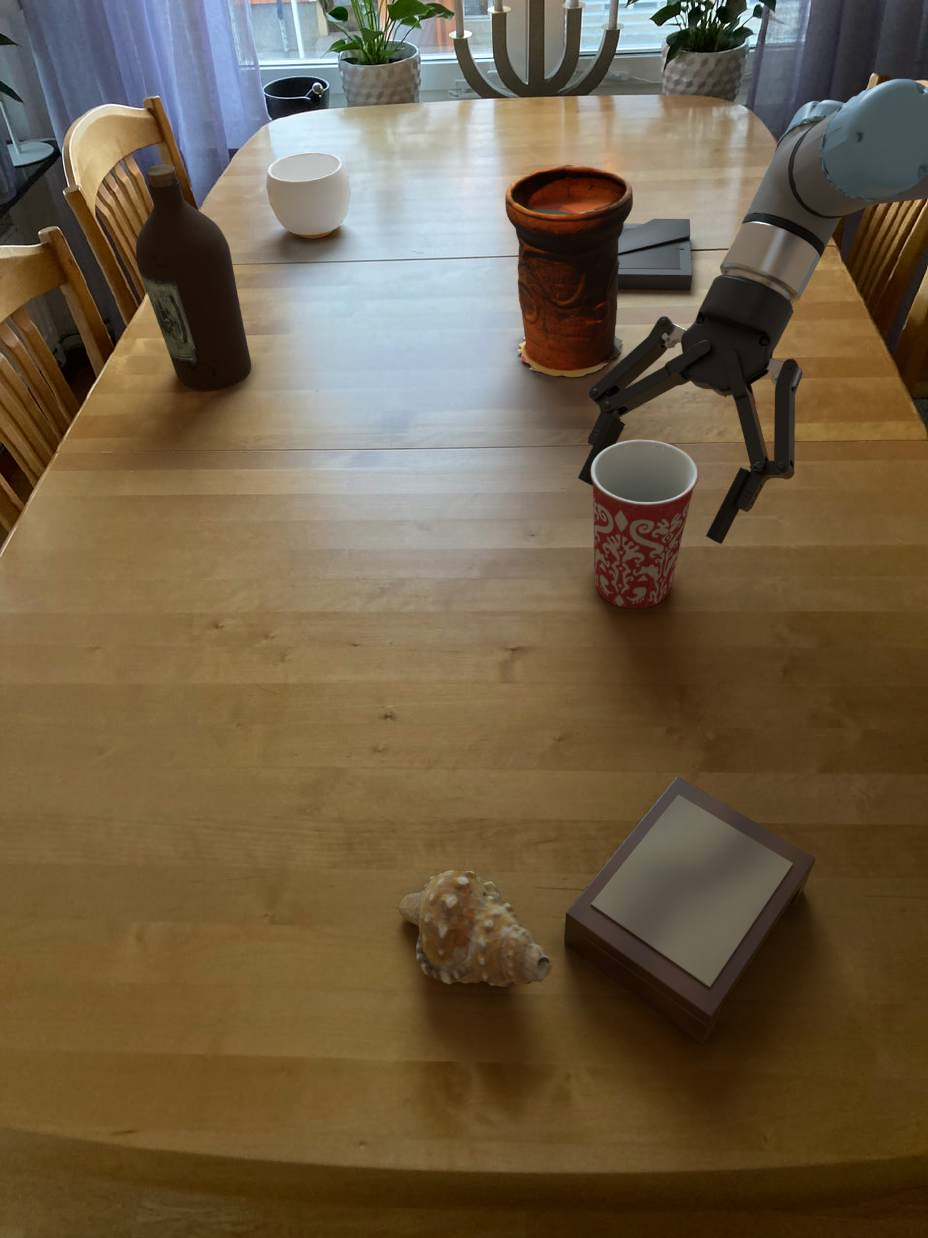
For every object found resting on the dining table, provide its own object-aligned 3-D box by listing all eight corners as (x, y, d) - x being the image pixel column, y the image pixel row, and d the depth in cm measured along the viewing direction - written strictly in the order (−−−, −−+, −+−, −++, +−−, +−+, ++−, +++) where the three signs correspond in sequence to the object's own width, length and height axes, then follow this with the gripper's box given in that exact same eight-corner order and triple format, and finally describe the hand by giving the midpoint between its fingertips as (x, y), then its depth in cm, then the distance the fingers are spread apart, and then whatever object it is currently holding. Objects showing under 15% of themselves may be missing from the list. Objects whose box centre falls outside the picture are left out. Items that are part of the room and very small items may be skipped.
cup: (274, 219, 154) (261, 156, 147) (350, 209, 155) (342, 146, 148) (277, 253, 145) (264, 188, 138) (359, 242, 146) (350, 177, 139)
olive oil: (223, 340, 128) (172, 143, 110) (273, 367, 123) (229, 164, 105) (156, 375, 123) (91, 173, 105) (205, 404, 118) (146, 197, 100)
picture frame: (687, 237, 142) (545, 236, 144) (689, 218, 140) (546, 217, 142) (690, 289, 131) (537, 287, 134) (692, 269, 129) (537, 267, 132)
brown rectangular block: (803, 890, 69) (817, 856, 66) (702, 1045, 62) (711, 1016, 59) (671, 809, 75) (677, 773, 71) (563, 943, 68) (565, 911, 64)
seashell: (528, 917, 72) (583, 902, 64) (481, 1021, 69) (533, 1020, 60) (424, 853, 72) (465, 829, 63) (370, 954, 68) (406, 944, 59)
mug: (661, 629, 88) (676, 514, 78) (569, 599, 91) (573, 485, 81) (706, 545, 95) (726, 431, 86) (620, 520, 99) (630, 408, 89)
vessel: (491, 335, 125) (485, 177, 111) (590, 310, 129) (597, 153, 114) (536, 390, 116) (536, 226, 102) (642, 362, 119) (657, 198, 105)
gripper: (899, 347, 82) (782, 572, 85) (649, 269, 94) (554, 469, 97) (889, 315, 76) (762, 560, 79) (622, 236, 88) (521, 451, 91)
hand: (647, 510), depth 88 cm, fingers open, 13 cm apart
